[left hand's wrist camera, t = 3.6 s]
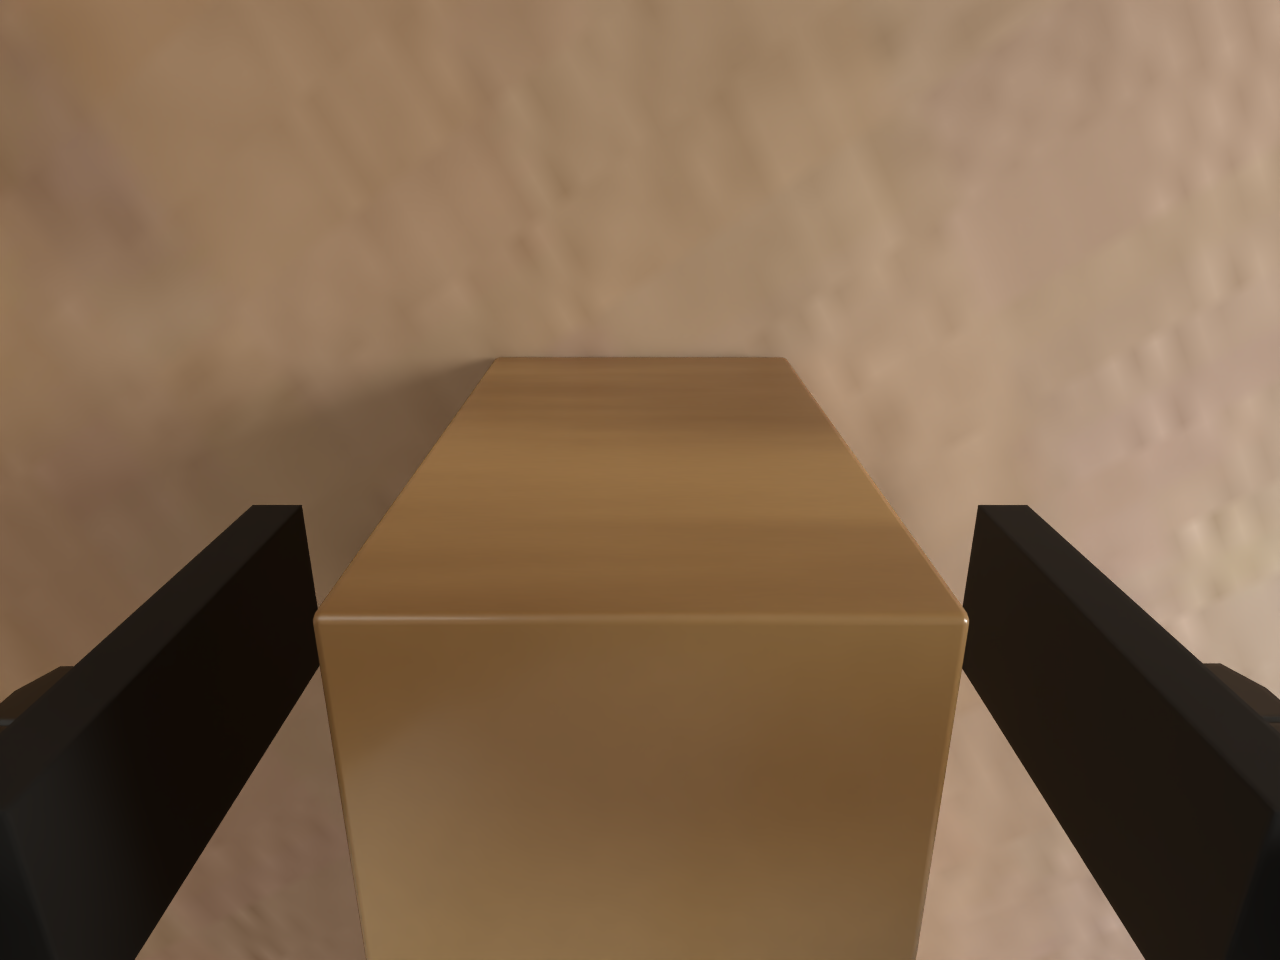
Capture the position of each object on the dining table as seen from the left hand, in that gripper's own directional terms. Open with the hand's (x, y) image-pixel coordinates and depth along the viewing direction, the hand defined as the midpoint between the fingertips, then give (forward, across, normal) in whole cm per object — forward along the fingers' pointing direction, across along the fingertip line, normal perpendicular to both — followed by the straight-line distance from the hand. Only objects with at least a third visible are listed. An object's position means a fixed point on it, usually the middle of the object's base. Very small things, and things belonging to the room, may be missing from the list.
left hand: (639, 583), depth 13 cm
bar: (+2, 0, -9) cm, 9 cm away
